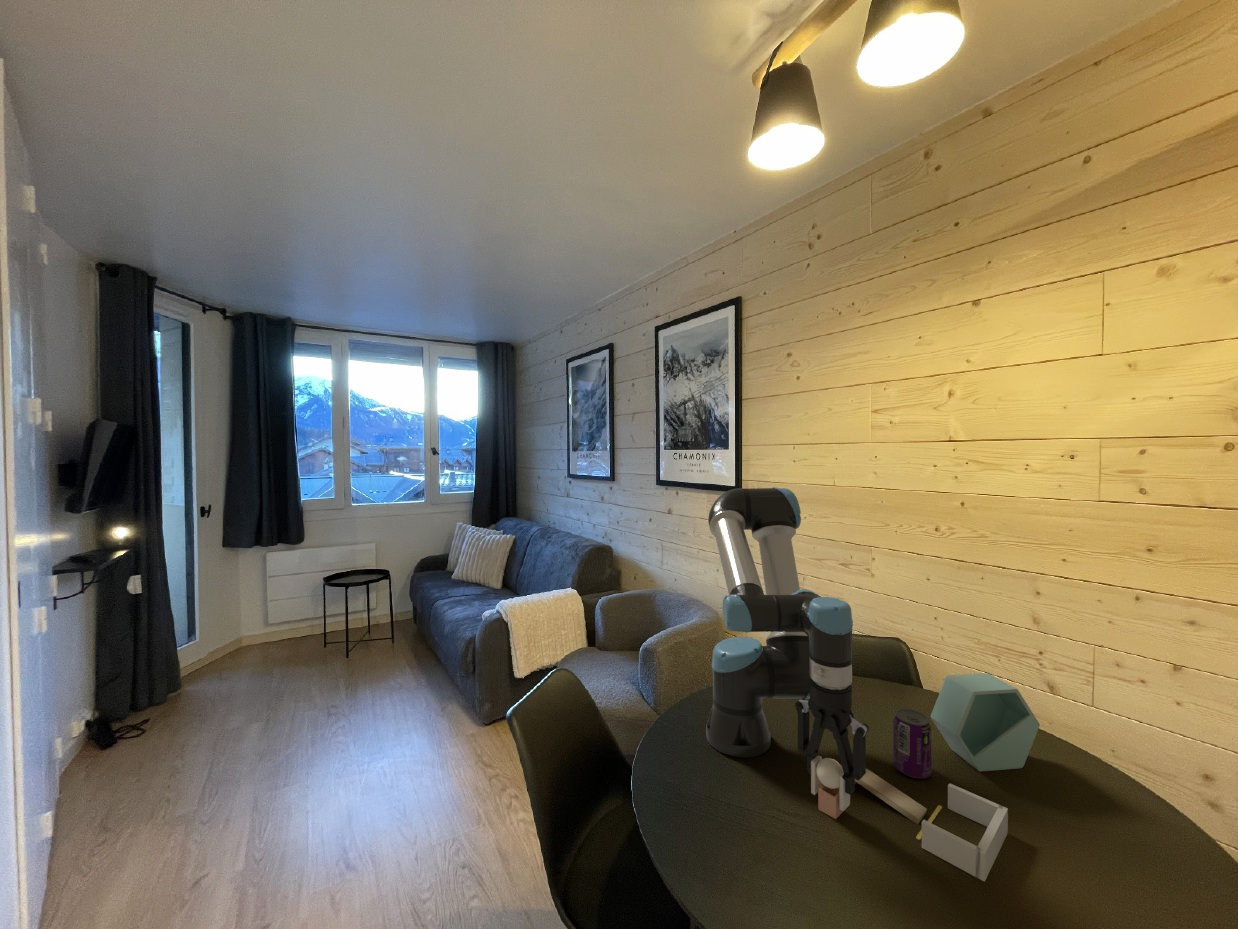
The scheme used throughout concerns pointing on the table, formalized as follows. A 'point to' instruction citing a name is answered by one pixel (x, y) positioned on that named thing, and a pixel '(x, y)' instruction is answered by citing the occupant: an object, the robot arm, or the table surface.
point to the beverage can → (912, 743)
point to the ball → (829, 772)
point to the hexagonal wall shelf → (985, 721)
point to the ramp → (892, 796)
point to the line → (930, 820)
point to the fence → (960, 850)
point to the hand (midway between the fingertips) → (830, 798)
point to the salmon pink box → (829, 801)
